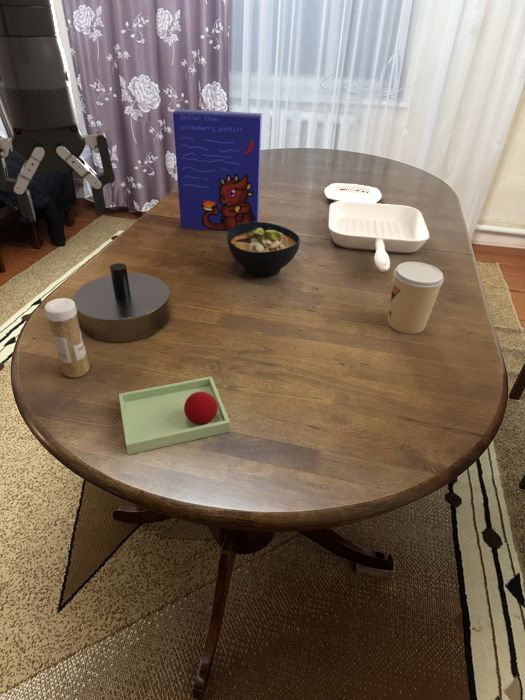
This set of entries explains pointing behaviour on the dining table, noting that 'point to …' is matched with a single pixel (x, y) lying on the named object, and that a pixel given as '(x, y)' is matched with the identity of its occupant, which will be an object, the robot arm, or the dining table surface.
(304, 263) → the dining table surface
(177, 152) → the cereal box
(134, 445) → the tray
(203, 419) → the dark red ball
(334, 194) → the plate
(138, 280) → the pot lid
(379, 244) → the pan
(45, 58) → the robot arm
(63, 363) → the sprinkles bottle
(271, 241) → the bowl
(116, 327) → the pot
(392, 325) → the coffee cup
